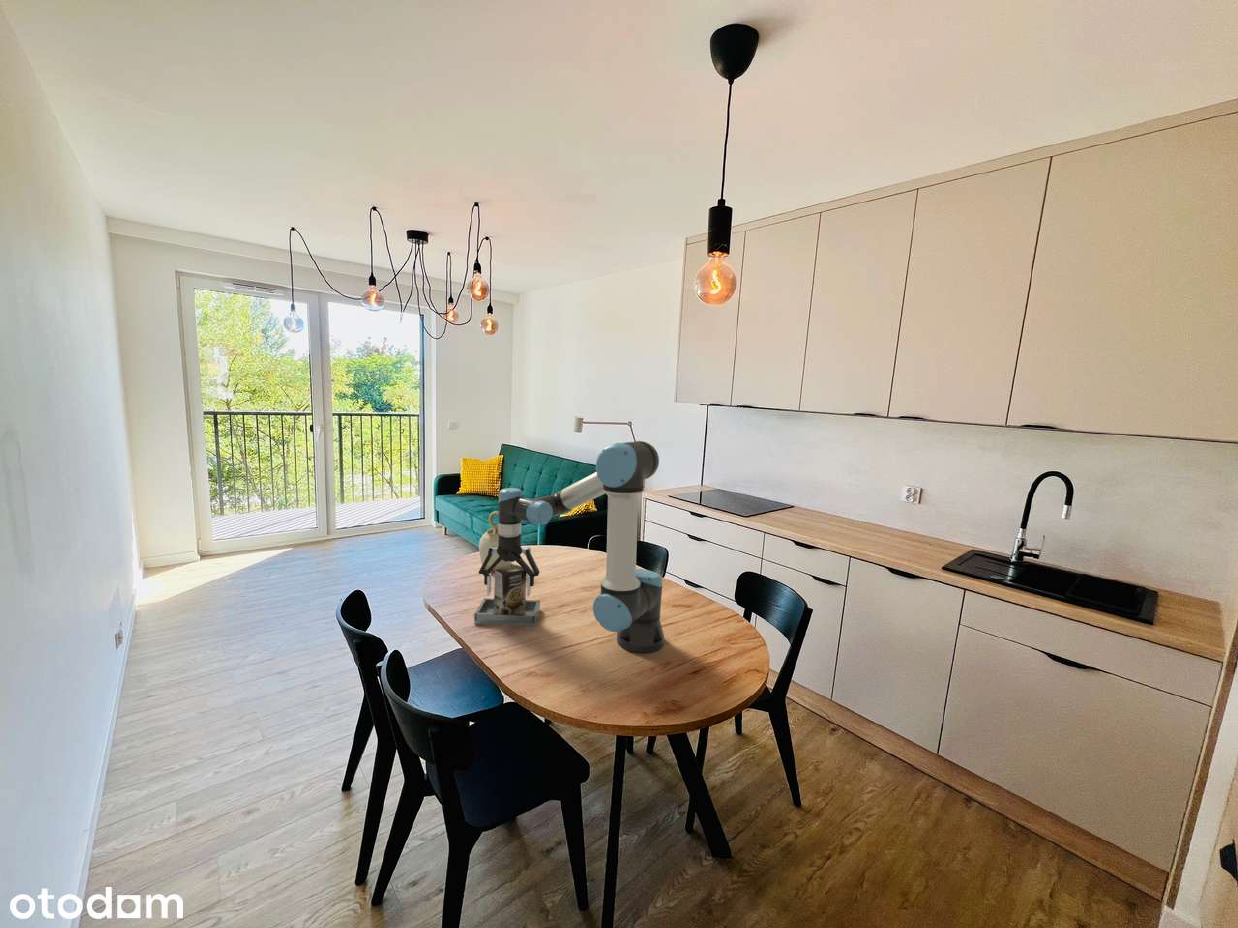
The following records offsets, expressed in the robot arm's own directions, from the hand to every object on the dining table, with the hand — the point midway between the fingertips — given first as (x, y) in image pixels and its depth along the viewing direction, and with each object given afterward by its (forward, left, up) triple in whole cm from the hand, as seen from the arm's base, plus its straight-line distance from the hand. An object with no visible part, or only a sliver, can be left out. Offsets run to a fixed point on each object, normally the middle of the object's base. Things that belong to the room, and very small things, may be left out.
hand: (509, 594), depth 170 cm
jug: (+15, -49, -8) cm, 52 cm away
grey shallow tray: (0, 0, -8) cm, 8 cm away
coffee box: (0, 0, -7) cm, 7 cm away
